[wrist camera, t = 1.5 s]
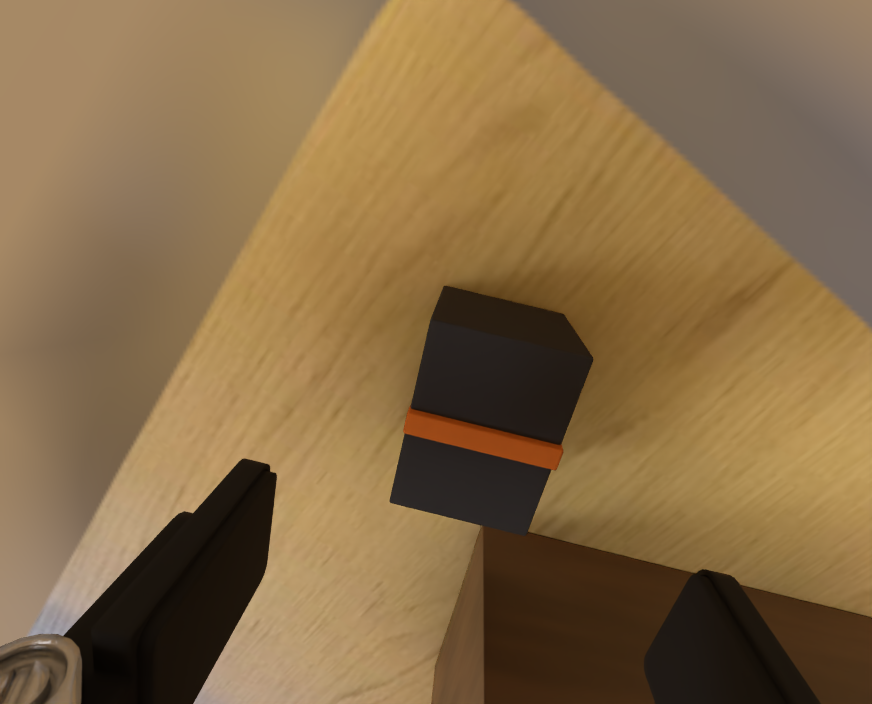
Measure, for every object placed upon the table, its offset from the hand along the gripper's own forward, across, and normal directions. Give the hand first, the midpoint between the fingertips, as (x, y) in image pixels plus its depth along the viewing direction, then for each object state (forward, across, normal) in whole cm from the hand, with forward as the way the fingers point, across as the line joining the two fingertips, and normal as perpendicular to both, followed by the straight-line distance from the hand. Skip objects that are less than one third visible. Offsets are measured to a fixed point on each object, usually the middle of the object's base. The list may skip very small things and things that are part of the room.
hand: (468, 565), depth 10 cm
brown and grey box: (+10, -12, +13) cm, 20 cm away
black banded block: (+10, 0, 0) cm, 10 cm away
